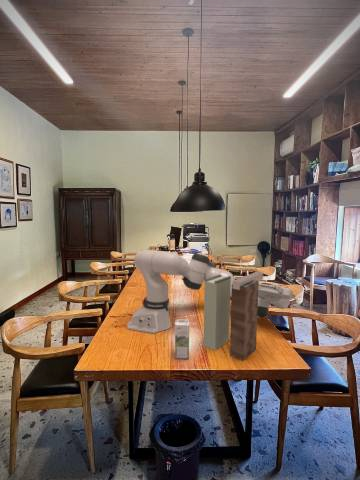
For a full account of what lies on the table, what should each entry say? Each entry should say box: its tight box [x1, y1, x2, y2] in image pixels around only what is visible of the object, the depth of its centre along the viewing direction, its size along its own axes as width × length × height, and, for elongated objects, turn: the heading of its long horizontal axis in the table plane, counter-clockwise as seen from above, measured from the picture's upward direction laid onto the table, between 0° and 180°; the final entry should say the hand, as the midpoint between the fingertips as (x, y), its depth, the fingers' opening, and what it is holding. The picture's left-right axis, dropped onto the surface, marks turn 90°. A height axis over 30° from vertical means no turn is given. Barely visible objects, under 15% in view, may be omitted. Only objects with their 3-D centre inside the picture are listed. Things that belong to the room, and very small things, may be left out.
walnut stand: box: [229, 281, 260, 361], centre depth 115 cm, size 12×6×30 cm, turn 140°
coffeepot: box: [209, 259, 222, 269], centre depth 236 cm, size 15×9×18 cm, turn 70°
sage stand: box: [203, 274, 231, 351], centre depth 123 cm, size 12×6×30 cm, turn 140°
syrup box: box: [174, 319, 190, 360], centre depth 113 cm, size 6×6×14 cm
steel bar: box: [233, 271, 264, 290], centre depth 115 cm, size 22×3×3 cm, turn 140°
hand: (265, 285), depth 129 cm, fingers open, 8 cm apart
